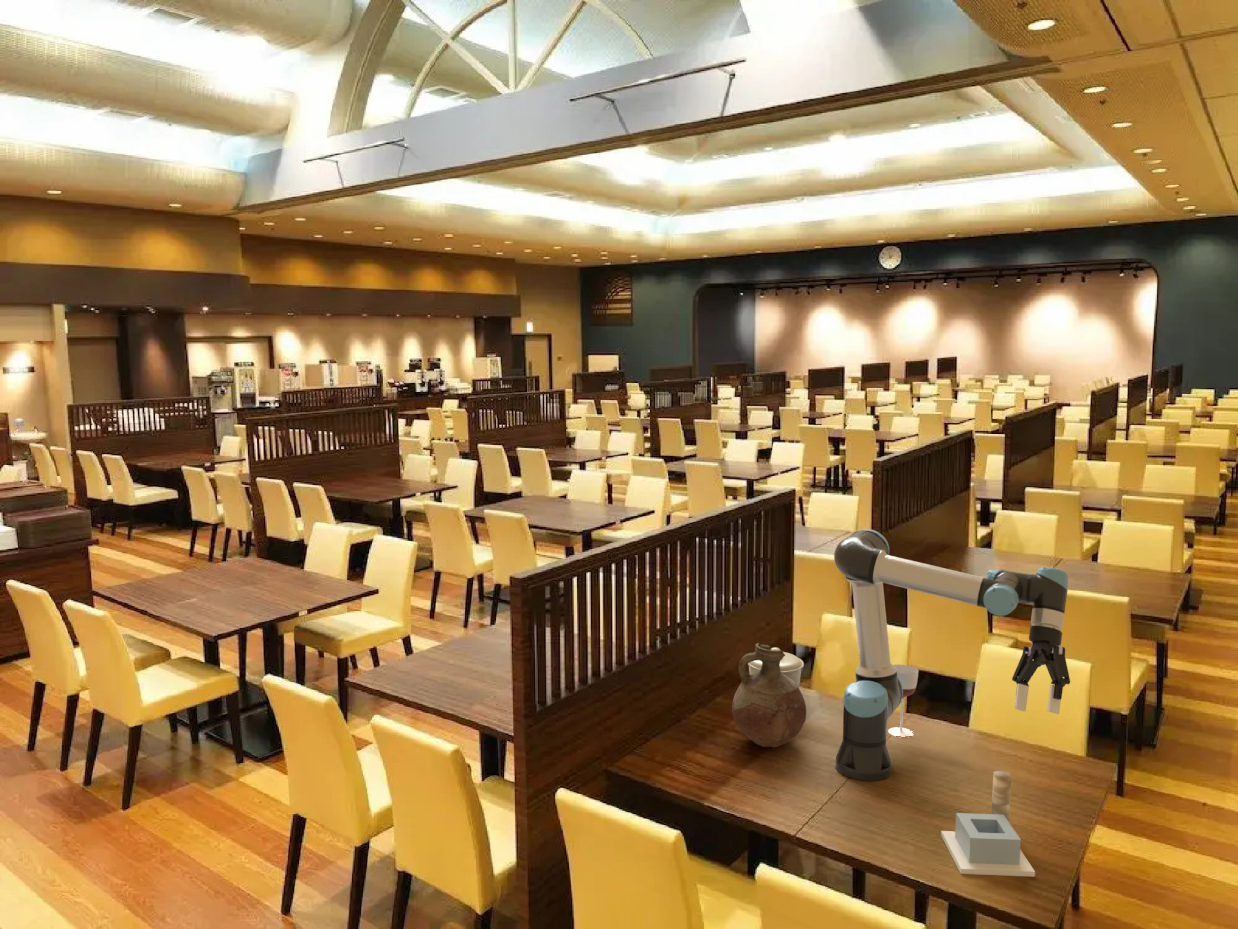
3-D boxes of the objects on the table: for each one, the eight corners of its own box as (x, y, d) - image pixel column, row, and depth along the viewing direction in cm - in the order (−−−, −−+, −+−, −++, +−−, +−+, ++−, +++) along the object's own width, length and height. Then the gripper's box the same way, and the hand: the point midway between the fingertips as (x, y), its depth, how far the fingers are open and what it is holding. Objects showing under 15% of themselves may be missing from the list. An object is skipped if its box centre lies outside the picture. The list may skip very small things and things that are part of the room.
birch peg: (993, 833, 219) (996, 778, 217) (988, 824, 223) (991, 770, 221) (1010, 833, 218) (1013, 779, 217) (1005, 825, 222) (1008, 771, 221)
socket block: (960, 874, 202) (962, 843, 201) (941, 835, 218) (942, 807, 217) (1034, 876, 201) (1036, 846, 200) (1009, 838, 217) (1011, 809, 216)
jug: (818, 753, 262) (821, 653, 258) (750, 763, 256) (752, 661, 252) (784, 723, 282) (786, 630, 278) (720, 732, 276) (721, 637, 272)
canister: (813, 710, 293) (815, 647, 290) (782, 727, 280) (783, 661, 277) (766, 695, 305) (767, 635, 302) (734, 711, 292) (735, 648, 289)
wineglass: (891, 724, 282) (893, 662, 279) (919, 731, 276) (922, 668, 274) (882, 733, 275) (884, 670, 273) (910, 740, 270) (913, 676, 267)
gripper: (1092, 630, 221) (1082, 717, 215) (1030, 633, 245) (1020, 712, 239) (1064, 622, 220) (1053, 710, 215) (1005, 626, 244) (994, 705, 239)
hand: (1036, 711), depth 227 cm, fingers open, 13 cm apart
